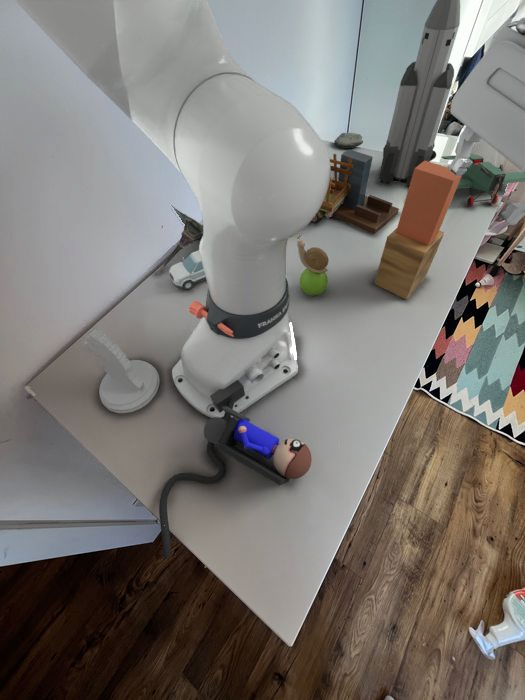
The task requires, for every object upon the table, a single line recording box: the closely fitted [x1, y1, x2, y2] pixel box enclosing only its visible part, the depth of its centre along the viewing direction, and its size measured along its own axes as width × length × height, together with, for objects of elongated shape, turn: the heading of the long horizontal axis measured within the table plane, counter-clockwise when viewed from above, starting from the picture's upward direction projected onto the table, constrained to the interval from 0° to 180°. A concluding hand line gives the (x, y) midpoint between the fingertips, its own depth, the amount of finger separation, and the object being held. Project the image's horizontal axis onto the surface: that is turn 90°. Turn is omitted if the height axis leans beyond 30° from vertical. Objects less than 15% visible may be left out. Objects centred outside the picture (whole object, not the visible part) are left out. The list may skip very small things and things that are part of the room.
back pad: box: [396, 161, 461, 245], centre depth 54 cm, size 3×6×11 cm, turn 47°
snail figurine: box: [296, 233, 330, 296], centre depth 63 cm, size 5×6×12 cm
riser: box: [373, 227, 445, 300], centre depth 63 cm, size 7×7×11 cm
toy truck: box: [310, 153, 353, 224], centre depth 79 cm, size 11×25×15 cm, turn 55°
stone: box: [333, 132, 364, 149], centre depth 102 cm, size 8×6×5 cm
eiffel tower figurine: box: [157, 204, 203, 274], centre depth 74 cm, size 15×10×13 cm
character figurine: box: [203, 407, 313, 486], centre depth 46 cm, size 8×7×15 cm
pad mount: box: [331, 148, 400, 235], centre depth 77 cm, size 10×14×12 cm
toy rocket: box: [378, 0, 461, 187], centre depth 75 cm, size 12×9×35 cm
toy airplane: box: [441, 142, 525, 208], centre depth 82 cm, size 22×25×11 cm
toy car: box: [169, 249, 206, 290], centre depth 70 cm, size 6×13×5 cm, turn 119°
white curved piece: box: [83, 328, 161, 414], centre depth 51 cm, size 10×10×15 cm
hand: (479, 195), depth 42 cm, fingers open, 8 cm apart
